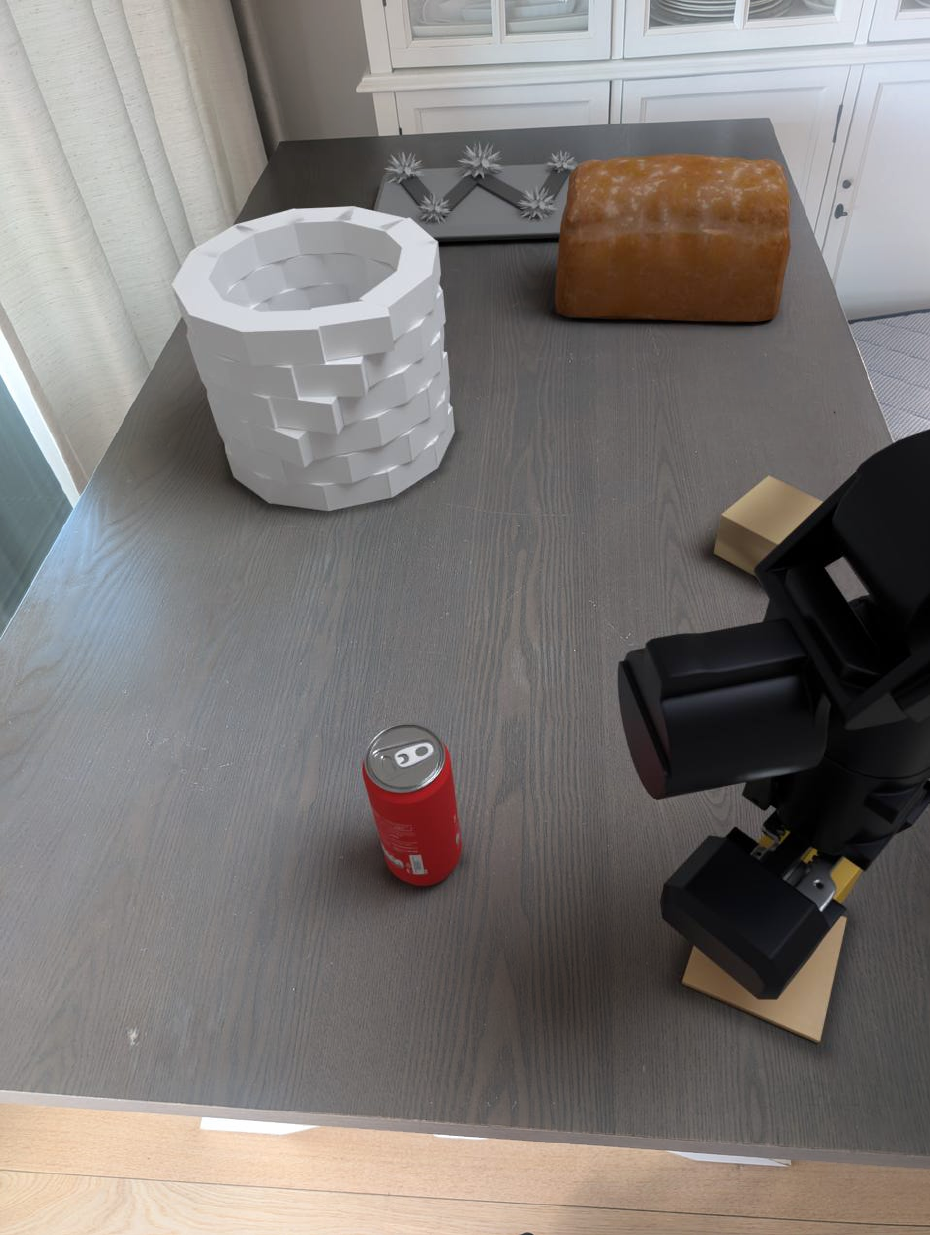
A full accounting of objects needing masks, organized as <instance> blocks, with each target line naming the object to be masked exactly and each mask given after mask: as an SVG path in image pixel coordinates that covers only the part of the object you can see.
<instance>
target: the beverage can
mask: <svg viewBox="0 0 930 1235" xmlns="http://www.w3.org/2000/svg"><path fill="white" fill-rule="evenodd" d="M366 747H367V748H366V750H365V752H364V758H363V760H362V765H361V766H362V768H361V771H362V772H361V773H362V777H363V782H364V786H365V789H366V793H367V796H368V801H369V804H370V808H371V812H372V816H373V819H374V822H375V827H376V830H377V833H378V837H379V842H380V845H381V848H382V852H383V856H384V859H385V862H386V865H387V867H388V869H389V870H390V871H391V873H393V875H395V877H397V878H398V879H400V880H402V881H404V882H406V883H407V884H410V885H412V886H415V887H430V886H433V885H436V884H438V883H441V882H442V881H444V880H445V879H446V878H448V877H449V876H450V874H452V872H453V870H454V869H455V868H456V867H457V865H458V863H459V861H460V859H461V856H462V851H463V840H462V834H461V827H460V819H459V812H458V804H457V796H456V788H455V780H454V774H453V766H452V758H451V755H450V751H449V749H448V747H447V745H446V744H445V743H444V741H443V740H442V739H441V737H440V736H439V734H437V733H436V732H435V731H434V730H432V729H431V728H429V727H427V726H425V725H422V724H418V723H414V722H413V723H412V722H409V723H408V722H407V723H400V724H394V725H391V726H388V727H387V728H385V729H383V730H382V731H380V732H379V733H378V734H376V735H375V736H374V737H373V738H372V740H370V742H369V743H368V746H366Z"/></svg>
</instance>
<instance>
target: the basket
mask: <svg viewBox="0 0 930 1235" xmlns="http://www.w3.org/2000/svg"><path fill="white" fill-rule="evenodd" d="M440 260H441V259H440V249H439V242H438V241H436V240H435V239H434V238H433V237H431V236H430V235H429V234H428V233H427V232H426V231H425V230H423V229H422V228H421V227H420V226H419V225H418V224H417V223H415V222H414V221H413V220H412V219H411V218H403V217H399V216H394V215H390V214H385V213H381V212H376V211H373V210H371V209H367V208H363V207H358V206H355V205H351V206H333V207H332V206H331V207H312V208H310V207H309V208H307V207H306V208H295V207H294V208H290V209H287V210H284V211H280V212H275V213H272V214H269V215H266V216H265V215H264V216H262V217H261V216H260V217H258V218H254V219H251V220H248V221H243V222H240V223H237V224H235V223H234V224H233V225H231V226H230V227H229V228H226V229H225V230H224V231H222V232H220V233H219V234H216V235H215V236H214V237H212V238H210V239H208V240H207V241H205V242H203V243H201V244H200V245H199V246H197V247H195V248H194V249H191V250H190V251H189V253H188V255H187V257H186V259H185V260H184V262H183V263H182V265H181V267H180V269H179V270H178V272H177V274H176V276H175V278H174V280H173V281H172V283H171V285H170V286H171V289H172V291H173V295H174V297H175V299H176V303H177V306H178V309H179V313H180V315H181V318H182V319H183V321H184V323H185V324H186V335H185V336H186V339H187V342H188V345H189V348H190V351H191V354H192V358H193V360H194V361H193V362H194V364H195V366H196V369H197V372H198V376H199V378H200V381H201V383H202V384H203V386H204V387H205V388H206V398H207V401H208V404H209V407H210V410H211V413H212V416H213V419H214V422H215V426H216V429H217V431H218V432H217V433H218V434H219V436H220V438H221V439H222V441H223V444H224V451H225V455H226V458H227V461H228V464H229V468H230V471H231V473H232V476H233V478H234V479H236V480H237V481H238V482H239V483H241V484H242V485H244V486H245V487H246V488H247V489H249V490H251V492H253V493H254V494H256V495H257V496H259V497H260V498H261V499H263V500H264V501H265V502H267V503H268V504H270V505H271V504H272V505H280V506H287V507H295V508H302V509H309V510H315V511H316V510H317V511H321V512H332V511H336V510H340V509H341V510H342V509H345V508H350V507H355V506H359V505H360V506H361V505H365V504H370V503H373V502H378V501H384V500H387V499H393V498H394V497H396V496H397V495H399V494H400V493H402V492H403V491H405V490H407V489H408V488H410V487H411V486H413V485H414V484H416V483H417V482H419V481H421V480H422V479H423V478H425V477H427V476H428V475H430V474H431V473H432V472H434V471H436V470H437V469H439V466H440V464H441V462H442V460H443V458H444V456H445V454H446V452H447V449H448V448H449V445H450V443H451V441H452V438H453V437H454V434H455V432H456V430H455V420H454V419H455V418H454V407H453V405H451V403H450V397H451V386H450V385H451V384H450V381H451V378H450V366H449V356H448V351H444V349H445V324H446V322H447V320H446V309H445V308H446V307H445V299H444V290H443V289H442V287H441V285H440V280H441V276H442V270H441V261H440Z"/></svg>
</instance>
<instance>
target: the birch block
mask: <svg viewBox="0 0 930 1235" xmlns="http://www.w3.org/2000/svg"><path fill="white" fill-rule="evenodd" d="M823 502H824V501H822V500H820V499H818V498H816V497H814V496H812V495H810V494H808V493H806V492H804V491H802V490H800V489H798V488H796V487H793V486H791V485H789V484H787V483H785V482H784V481H782V480H779V479H777V478H775V477H773V476H771V475H767V476H766V477H765V478H764V479H762V480H761V481H760V482H759V483H758V484H756V485H755V486H754V487H753V488H751V489H750V490H749V491H748V492H746V494H744V495H743V496H742V497H741V498H739V499H738V500H737V501H735V503H733V504H732V505H731V506H729V507H728V508H727V509H726V510H725V511H723V512H722V513H721V514H720V518H719V523H718V528H717V534H716V538H715V544H714V549H713V554H714V555H716V556H717V557H719V558H721V559H723V560H725V561H726V562H728V563H730V564H732V565H734V566H736V567H737V568H739V569H741V570H742V571H744V572H746V573H748V574H750V575H752V576H754V577H755V578H757V577H756V575H755V574H754V568H755V567H756V565H757V564H758V563H760V562H761V561H762V560H763V559H764V558H765V557H766V556H767V555H768V554H769V553H770V552H771V551H772V550H773V549H774V548H775V547H776V546H777V545H779V544H780V543H781V542H782V541H783V540H784V539H785V538H786V537H787V536H788V535H789V534H790V533H791V532H792V531H793V530H794V529H795V528H797V527H798V526H799V525H800V524H801V523H802V522H803V521H804V520H805V519H806V518H807V517H808V516H809V515H810V514H811V513H812V512H813V511H814V510H816V509H817V508H818V507H819V506H820V505H821V504H822V503H823Z"/></svg>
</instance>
